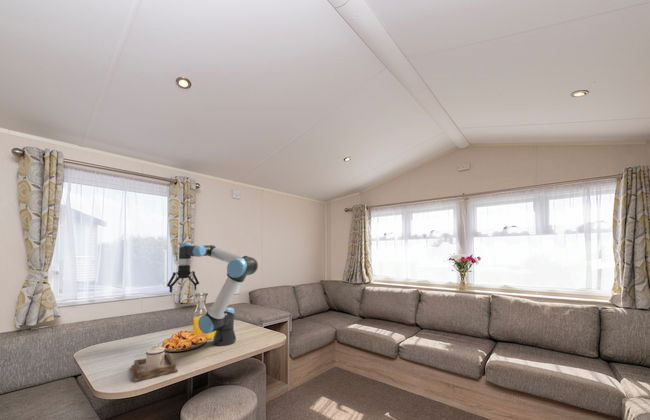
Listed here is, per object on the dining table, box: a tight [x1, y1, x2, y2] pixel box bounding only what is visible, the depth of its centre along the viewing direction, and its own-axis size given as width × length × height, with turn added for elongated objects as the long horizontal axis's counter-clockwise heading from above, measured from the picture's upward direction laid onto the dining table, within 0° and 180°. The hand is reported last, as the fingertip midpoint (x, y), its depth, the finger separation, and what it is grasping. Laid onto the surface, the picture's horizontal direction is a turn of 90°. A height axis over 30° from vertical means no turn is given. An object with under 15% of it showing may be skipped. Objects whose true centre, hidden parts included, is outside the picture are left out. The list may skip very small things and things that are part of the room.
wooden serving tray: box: [131, 353, 179, 383], centre depth 158 cm, size 19×22×4 cm
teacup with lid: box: [145, 344, 166, 370], centre depth 159 cm, size 12×9×12 cm
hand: (182, 295), depth 202 cm, fingers open, 13 cm apart
